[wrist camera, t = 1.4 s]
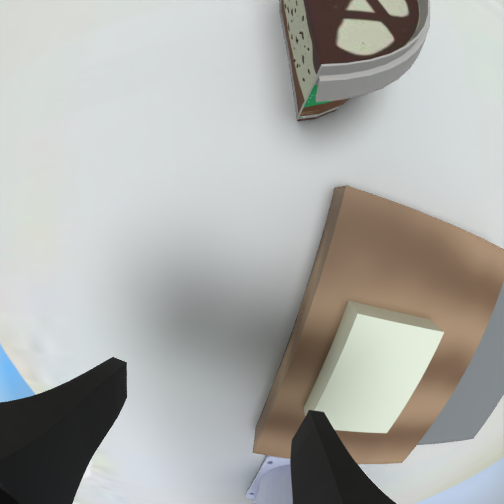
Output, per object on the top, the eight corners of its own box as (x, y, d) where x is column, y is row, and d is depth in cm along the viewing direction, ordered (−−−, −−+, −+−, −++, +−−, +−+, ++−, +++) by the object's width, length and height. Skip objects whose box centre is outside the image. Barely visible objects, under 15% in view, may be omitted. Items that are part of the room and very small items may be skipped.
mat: (471, 436, 20) (473, 438, 20) (397, 442, 21) (399, 445, 20) (550, 278, 16) (553, 279, 16) (492, 248, 17) (495, 249, 16)
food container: (389, 141, 16) (479, 100, 7) (299, 143, 17) (324, 81, 7) (355, 1, 14) (387, -81, 5) (277, -1, 15) (273, -94, 5)
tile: (379, 415, 17) (386, 433, 15) (303, 406, 17) (305, 426, 15) (429, 319, 15) (444, 332, 13) (348, 300, 15) (357, 313, 13)
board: (393, 442, 21) (401, 462, 18) (255, 428, 21) (252, 452, 18) (488, 246, 17) (511, 253, 14) (334, 187, 17) (346, 185, 14)
